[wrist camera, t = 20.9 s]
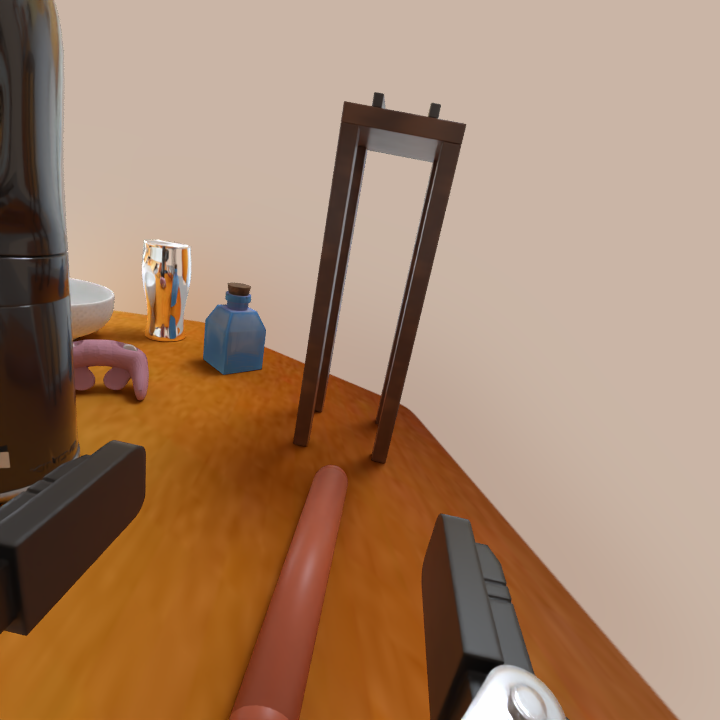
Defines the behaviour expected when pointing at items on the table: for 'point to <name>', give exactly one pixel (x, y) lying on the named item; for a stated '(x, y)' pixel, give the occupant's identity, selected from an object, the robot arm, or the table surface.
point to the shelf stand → (355, 138)
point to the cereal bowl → (89, 307)
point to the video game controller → (116, 355)
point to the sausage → (294, 609)
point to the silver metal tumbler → (165, 288)
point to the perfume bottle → (234, 334)
